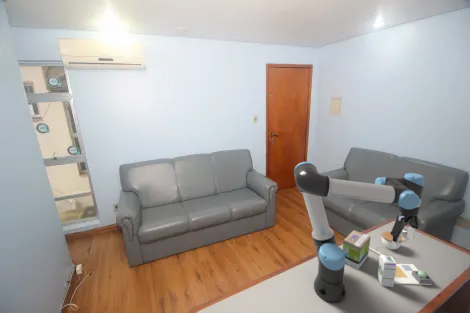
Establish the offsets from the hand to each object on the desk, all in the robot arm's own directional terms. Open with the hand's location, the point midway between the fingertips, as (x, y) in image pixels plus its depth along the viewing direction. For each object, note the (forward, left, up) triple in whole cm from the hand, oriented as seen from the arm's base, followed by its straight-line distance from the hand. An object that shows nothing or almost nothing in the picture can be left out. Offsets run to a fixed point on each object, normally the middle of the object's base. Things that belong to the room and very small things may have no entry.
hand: (402, 242), depth 112 cm
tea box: (-16, +14, -22) cm, 30 cm away
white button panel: (+5, +3, -22) cm, 22 cm away
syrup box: (-8, -3, -22) cm, 23 cm away
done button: (+11, -1, -20) cm, 23 cm away
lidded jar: (+11, +26, -22) cm, 35 cm away
